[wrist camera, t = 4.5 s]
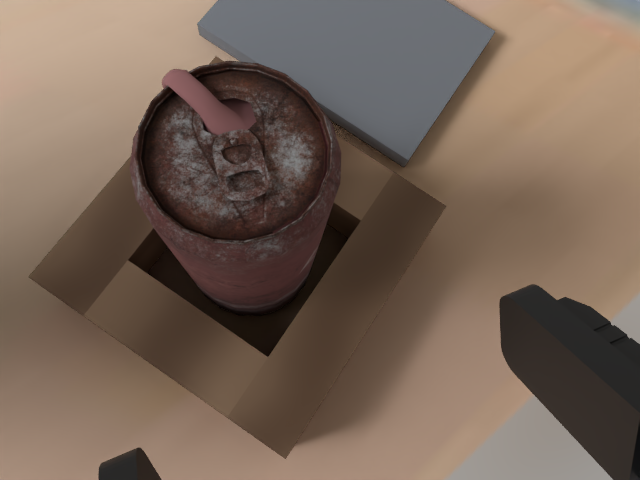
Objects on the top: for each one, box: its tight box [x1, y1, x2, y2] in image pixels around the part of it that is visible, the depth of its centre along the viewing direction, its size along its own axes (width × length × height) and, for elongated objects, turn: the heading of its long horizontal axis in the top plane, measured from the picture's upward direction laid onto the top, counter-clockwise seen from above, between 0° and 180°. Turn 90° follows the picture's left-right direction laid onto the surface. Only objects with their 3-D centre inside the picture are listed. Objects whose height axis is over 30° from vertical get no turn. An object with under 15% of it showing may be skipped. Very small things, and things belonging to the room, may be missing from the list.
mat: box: [197, 0, 495, 167], centre depth 32 cm, size 14×10×1 cm
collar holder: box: [29, 57, 446, 459], centre depth 27 cm, size 14×14×4 cm
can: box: [129, 61, 341, 316], centre depth 22 cm, size 6×6×14 cm
